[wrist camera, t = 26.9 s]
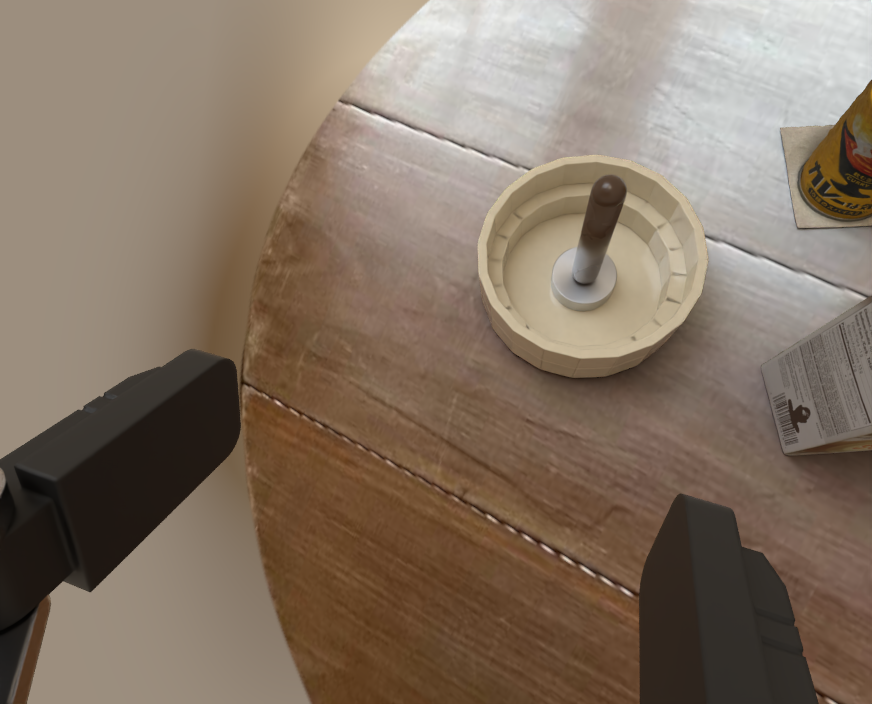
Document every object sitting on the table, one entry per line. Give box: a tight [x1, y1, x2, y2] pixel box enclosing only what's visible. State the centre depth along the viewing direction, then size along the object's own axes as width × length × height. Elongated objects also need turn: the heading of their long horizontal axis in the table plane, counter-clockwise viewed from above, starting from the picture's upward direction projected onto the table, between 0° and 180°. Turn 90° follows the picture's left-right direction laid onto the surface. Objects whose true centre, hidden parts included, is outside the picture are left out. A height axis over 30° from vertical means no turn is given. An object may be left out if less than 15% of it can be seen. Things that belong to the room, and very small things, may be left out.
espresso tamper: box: [551, 174, 627, 311], centre depth 34 cm, size 4×4×13 cm
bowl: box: [478, 155, 708, 378], centre depth 38 cm, size 14×14×6 cm
